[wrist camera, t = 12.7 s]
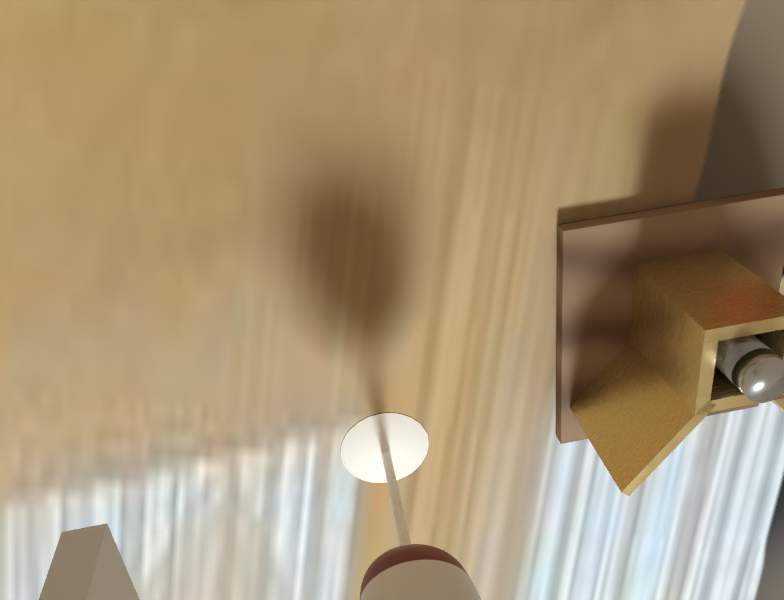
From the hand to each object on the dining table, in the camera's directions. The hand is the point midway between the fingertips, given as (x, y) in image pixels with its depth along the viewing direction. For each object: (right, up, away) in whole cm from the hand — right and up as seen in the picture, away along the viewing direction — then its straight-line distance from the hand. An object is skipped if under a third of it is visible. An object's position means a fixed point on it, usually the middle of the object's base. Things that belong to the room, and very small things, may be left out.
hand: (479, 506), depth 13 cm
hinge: (+21, +2, +44) cm, 48 cm away
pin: (+20, +4, +42) cm, 47 cm away
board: (+20, +2, +45) cm, 49 cm away
